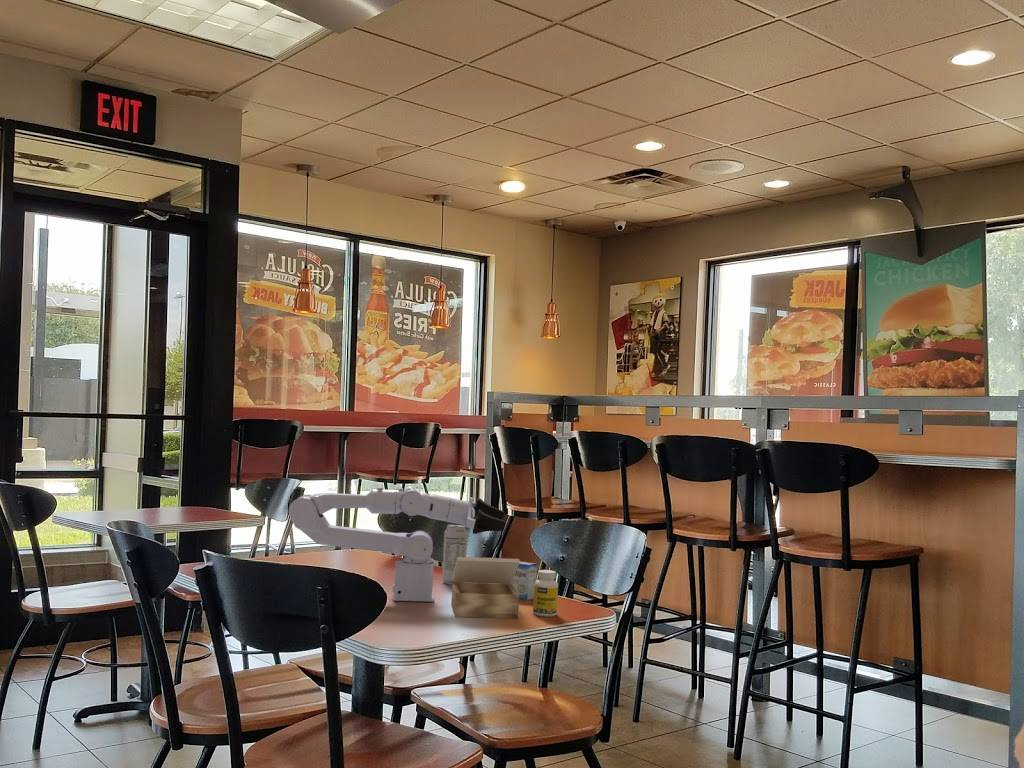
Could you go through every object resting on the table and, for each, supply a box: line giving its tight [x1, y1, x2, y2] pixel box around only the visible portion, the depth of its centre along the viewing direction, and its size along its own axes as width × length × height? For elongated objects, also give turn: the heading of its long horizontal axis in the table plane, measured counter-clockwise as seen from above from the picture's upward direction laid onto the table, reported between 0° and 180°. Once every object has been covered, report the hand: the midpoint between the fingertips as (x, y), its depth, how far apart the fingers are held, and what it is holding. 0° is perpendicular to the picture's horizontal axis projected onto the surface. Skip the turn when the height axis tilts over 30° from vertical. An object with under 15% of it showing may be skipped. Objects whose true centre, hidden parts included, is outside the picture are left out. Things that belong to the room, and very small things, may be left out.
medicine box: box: [512, 561, 538, 601], centre depth 234 cm, size 8×4×9 cm, turn 62°
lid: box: [453, 556, 521, 584], centre depth 216 cm, size 14×14×1 cm
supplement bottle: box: [532, 569, 559, 617], centre depth 214 cm, size 5×5×10 cm
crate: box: [450, 582, 520, 619], centre depth 215 cm, size 14×14×5 cm
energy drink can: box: [441, 524, 468, 585], centre depth 249 cm, size 6×6×15 cm
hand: (504, 521), depth 227 cm, fingers open, 7 cm apart
